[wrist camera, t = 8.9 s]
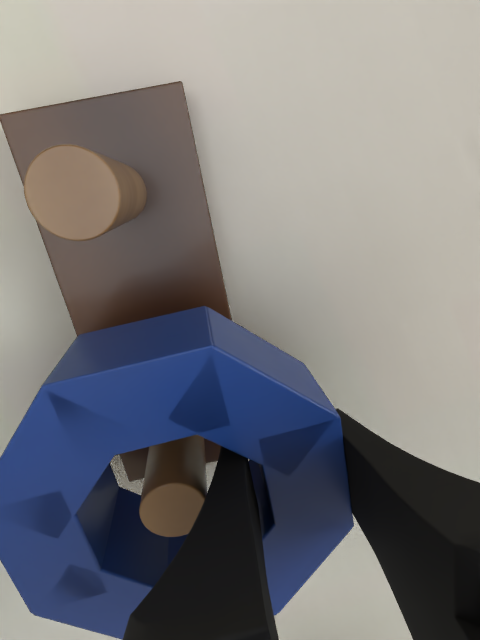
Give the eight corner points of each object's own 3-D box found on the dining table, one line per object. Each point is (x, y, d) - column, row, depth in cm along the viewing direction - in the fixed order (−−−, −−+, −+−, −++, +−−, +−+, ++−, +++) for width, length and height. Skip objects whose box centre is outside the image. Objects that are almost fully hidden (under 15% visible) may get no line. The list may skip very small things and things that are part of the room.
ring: (89, 575, 16) (65, 676, 12) (-15, 355, 12) (-85, 415, 9) (327, 511, 16) (362, 591, 13) (292, 285, 13) (328, 317, 10)
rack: (133, 460, 19) (103, 607, 12) (16, 122, 14) (-143, 58, 7) (253, 432, 19) (287, 559, 12) (182, 91, 14) (176, 3, 7)
